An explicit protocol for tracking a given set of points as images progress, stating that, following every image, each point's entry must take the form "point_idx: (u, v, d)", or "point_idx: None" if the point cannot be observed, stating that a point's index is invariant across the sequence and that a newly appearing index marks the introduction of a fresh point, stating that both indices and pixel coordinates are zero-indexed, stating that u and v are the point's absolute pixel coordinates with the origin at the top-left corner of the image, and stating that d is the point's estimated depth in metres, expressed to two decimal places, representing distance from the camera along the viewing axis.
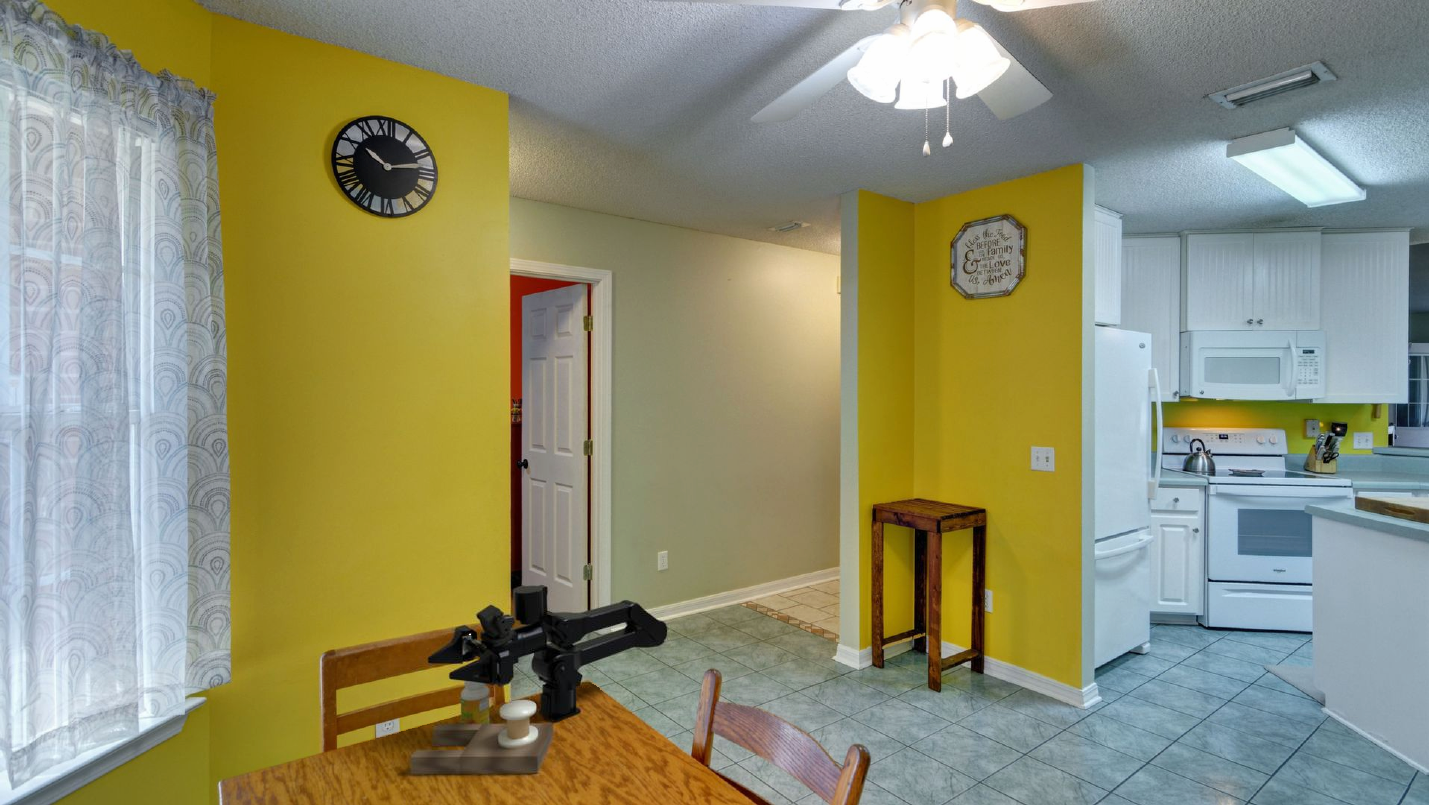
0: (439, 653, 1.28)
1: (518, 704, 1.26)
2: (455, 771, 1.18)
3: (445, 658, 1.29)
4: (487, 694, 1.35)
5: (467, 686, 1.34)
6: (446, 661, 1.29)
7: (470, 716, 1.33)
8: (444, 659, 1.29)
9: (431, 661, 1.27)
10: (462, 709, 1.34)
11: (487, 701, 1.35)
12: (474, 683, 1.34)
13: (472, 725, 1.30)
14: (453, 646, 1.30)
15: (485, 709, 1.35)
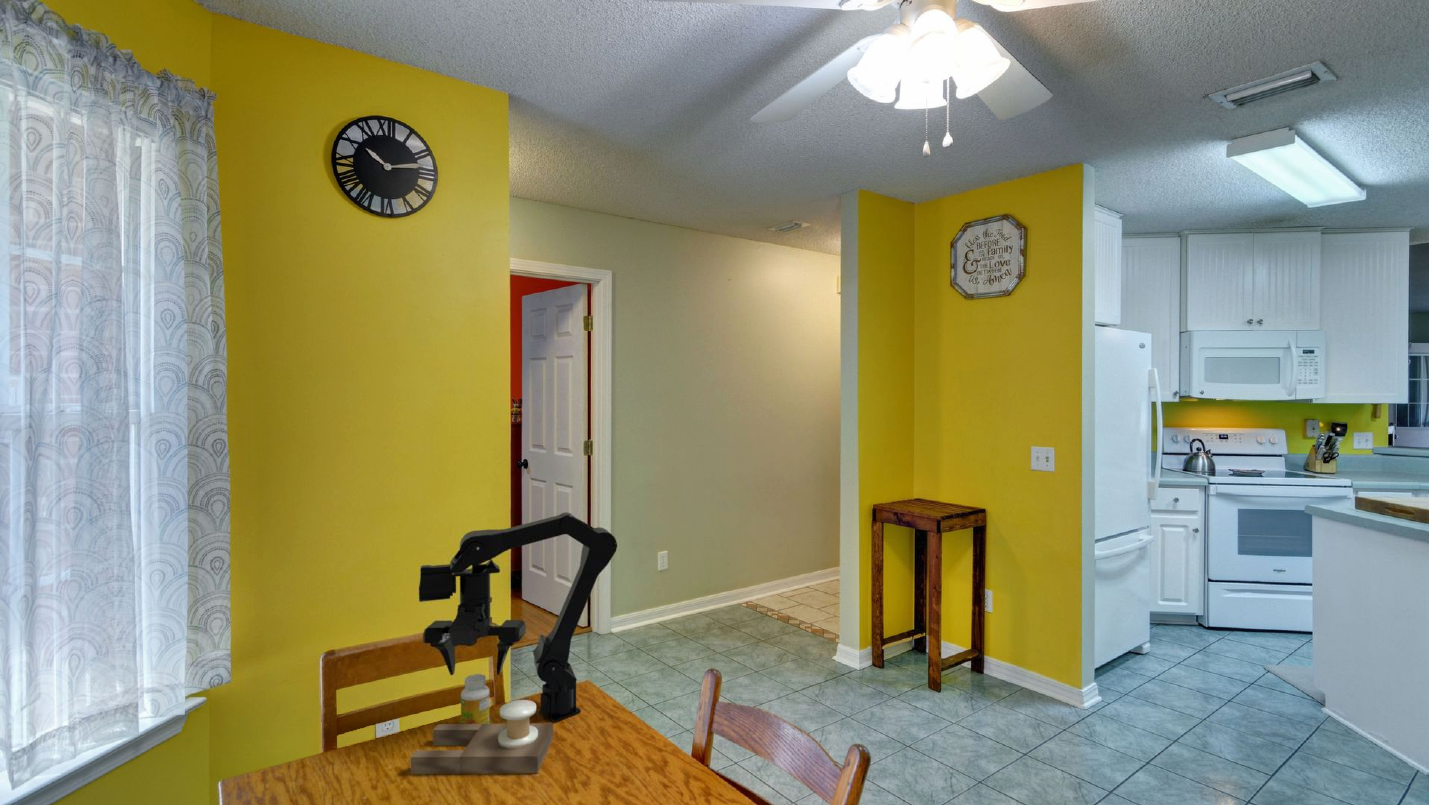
0: (451, 665, 1.35)
1: (518, 704, 1.26)
2: (455, 771, 1.18)
3: (453, 656, 1.36)
4: (487, 694, 1.35)
5: (467, 686, 1.34)
6: (454, 654, 1.37)
7: (470, 716, 1.33)
8: (453, 657, 1.36)
9: (454, 671, 1.36)
10: (462, 709, 1.34)
11: (487, 701, 1.35)
12: (474, 683, 1.34)
13: (472, 725, 1.30)
14: (448, 651, 1.34)
15: (485, 709, 1.35)
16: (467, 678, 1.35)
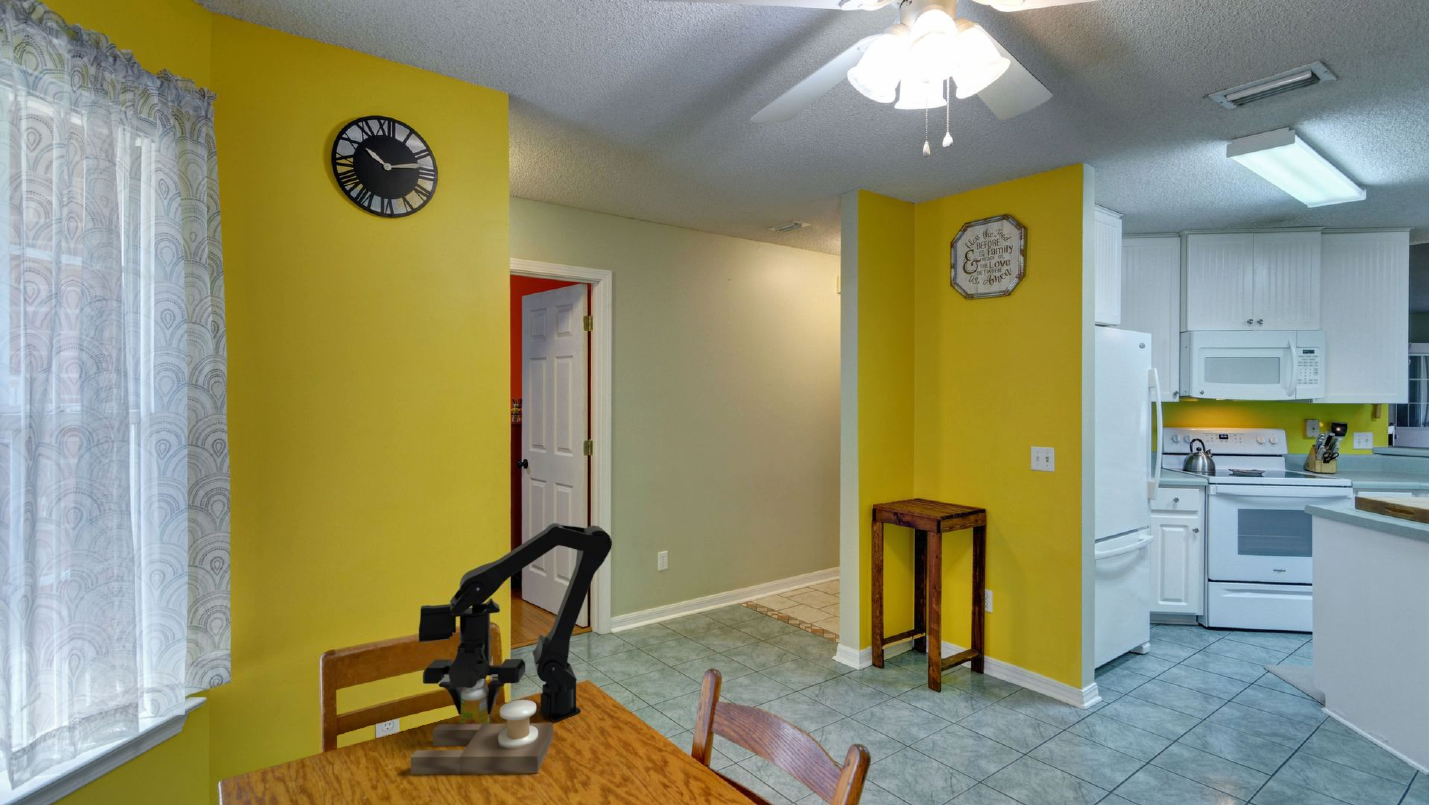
0: (459, 704, 1.35)
1: (518, 704, 1.26)
2: (455, 771, 1.18)
3: None
4: (487, 694, 1.35)
5: None
6: None
7: (470, 716, 1.33)
8: None
9: None
10: (462, 709, 1.34)
11: (487, 701, 1.35)
12: None
13: (472, 725, 1.30)
14: (457, 691, 1.35)
15: (485, 709, 1.35)
16: None
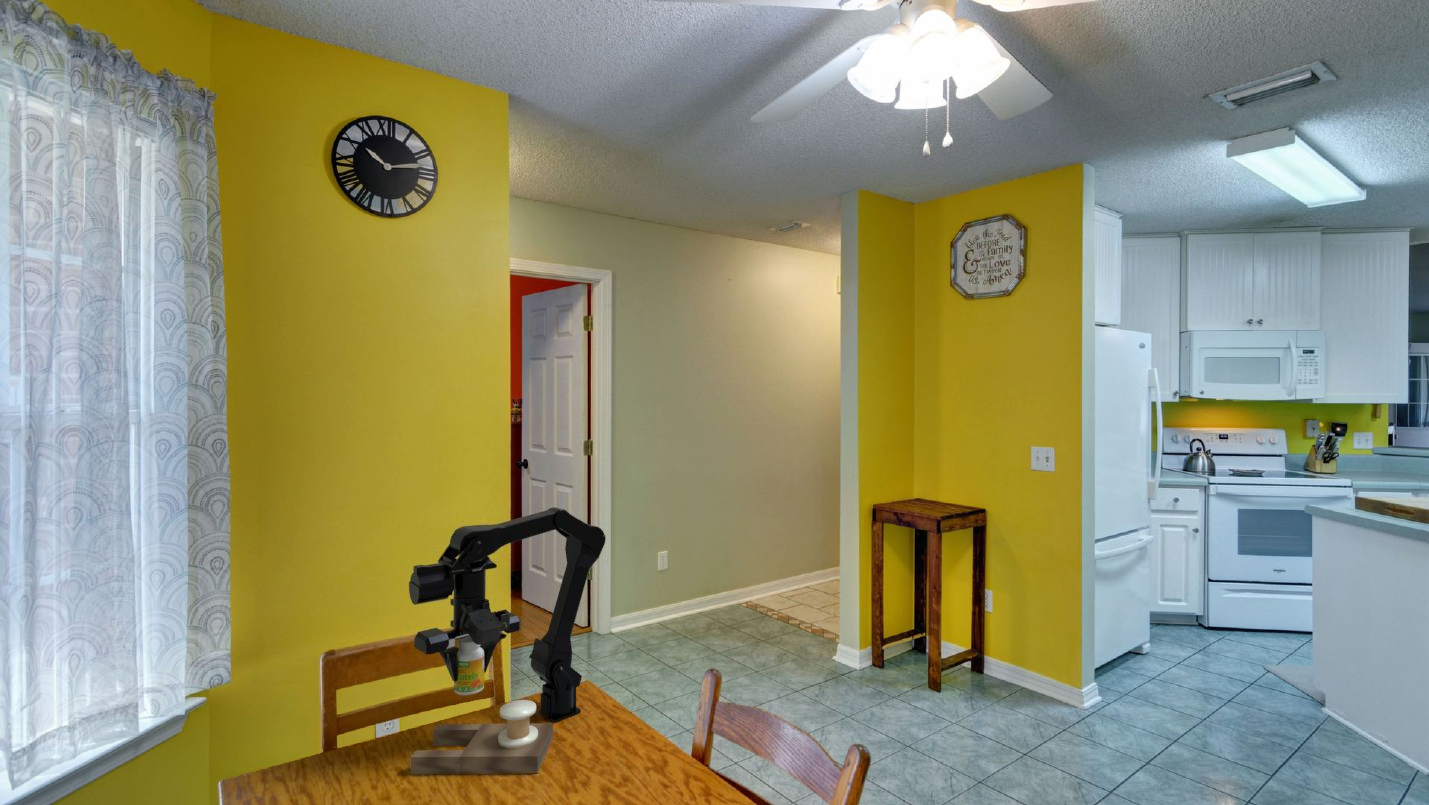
0: None
1: (518, 704, 1.26)
2: (455, 771, 1.18)
3: None
4: None
5: (469, 647, 1.27)
6: None
7: (475, 677, 1.27)
8: None
9: None
10: (464, 672, 1.26)
11: None
12: None
13: (472, 725, 1.30)
14: None
15: None
16: (462, 640, 1.28)
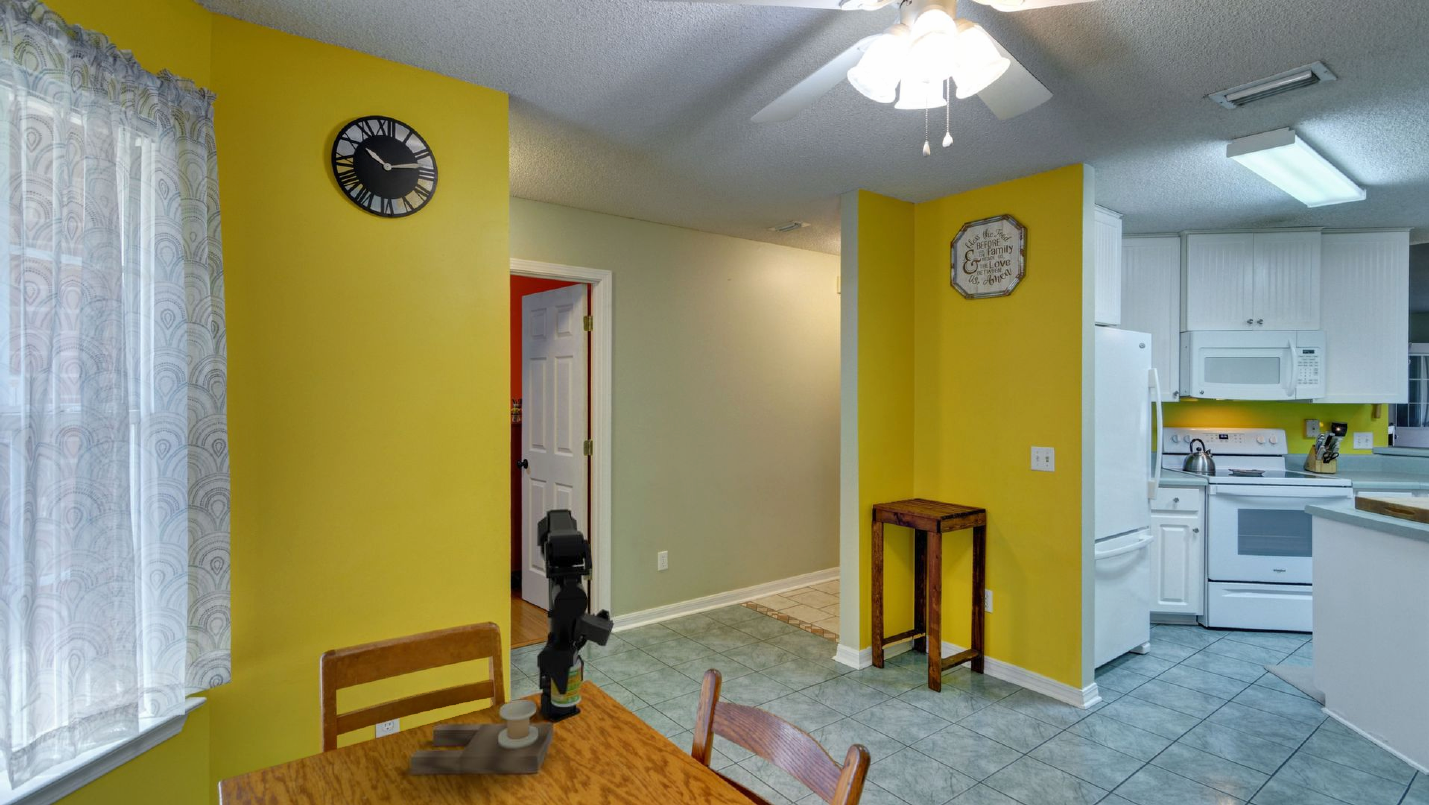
0: None
1: (518, 704, 1.26)
2: (455, 771, 1.18)
3: None
4: None
5: None
6: None
7: (580, 683, 1.25)
8: None
9: None
10: (574, 682, 1.23)
11: None
12: None
13: (472, 725, 1.30)
14: None
15: None
16: None
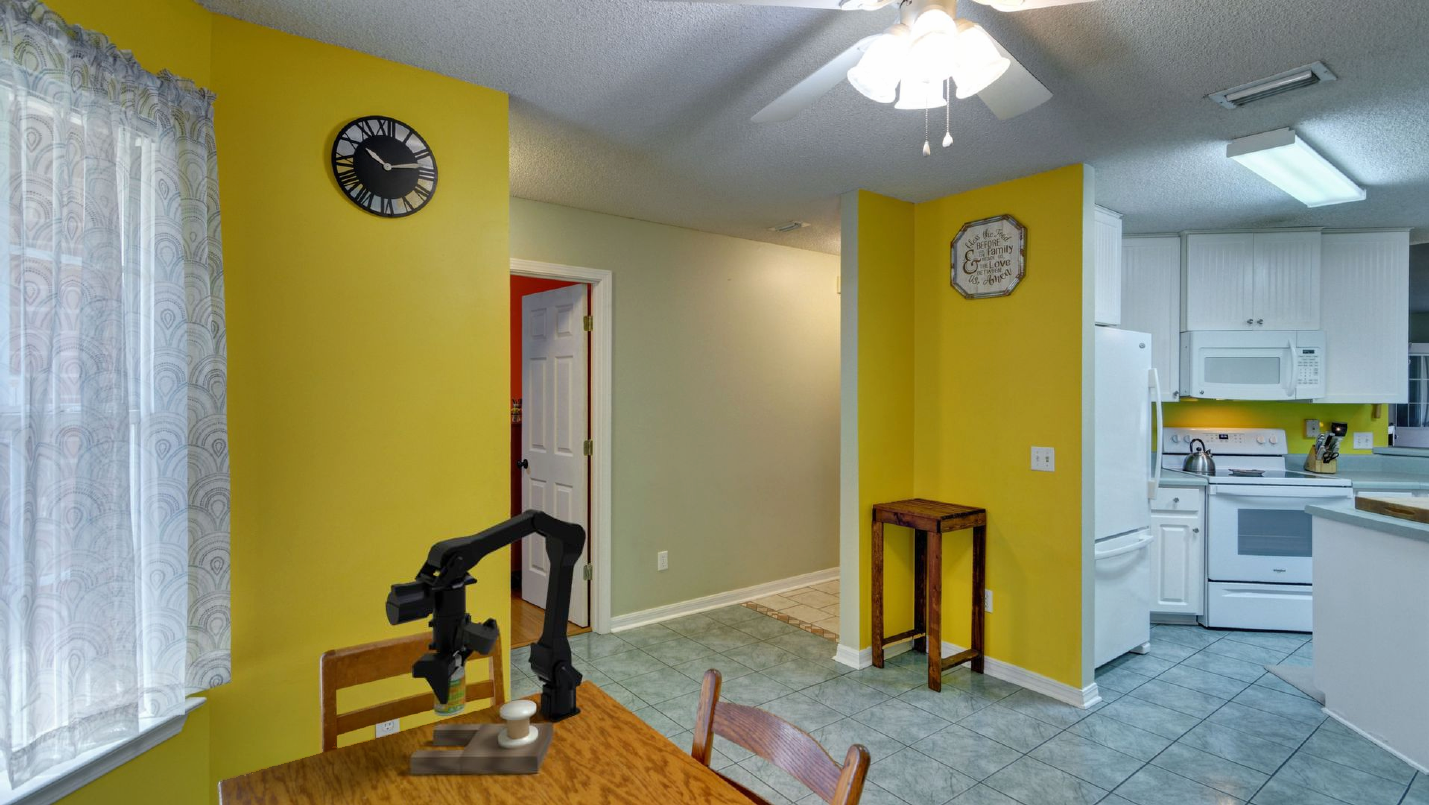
0: None
1: (518, 704, 1.26)
2: (455, 771, 1.18)
3: None
4: None
5: (457, 664, 1.23)
6: None
7: (464, 692, 1.24)
8: None
9: None
10: (456, 691, 1.23)
11: None
12: None
13: (472, 725, 1.30)
14: None
15: None
16: None
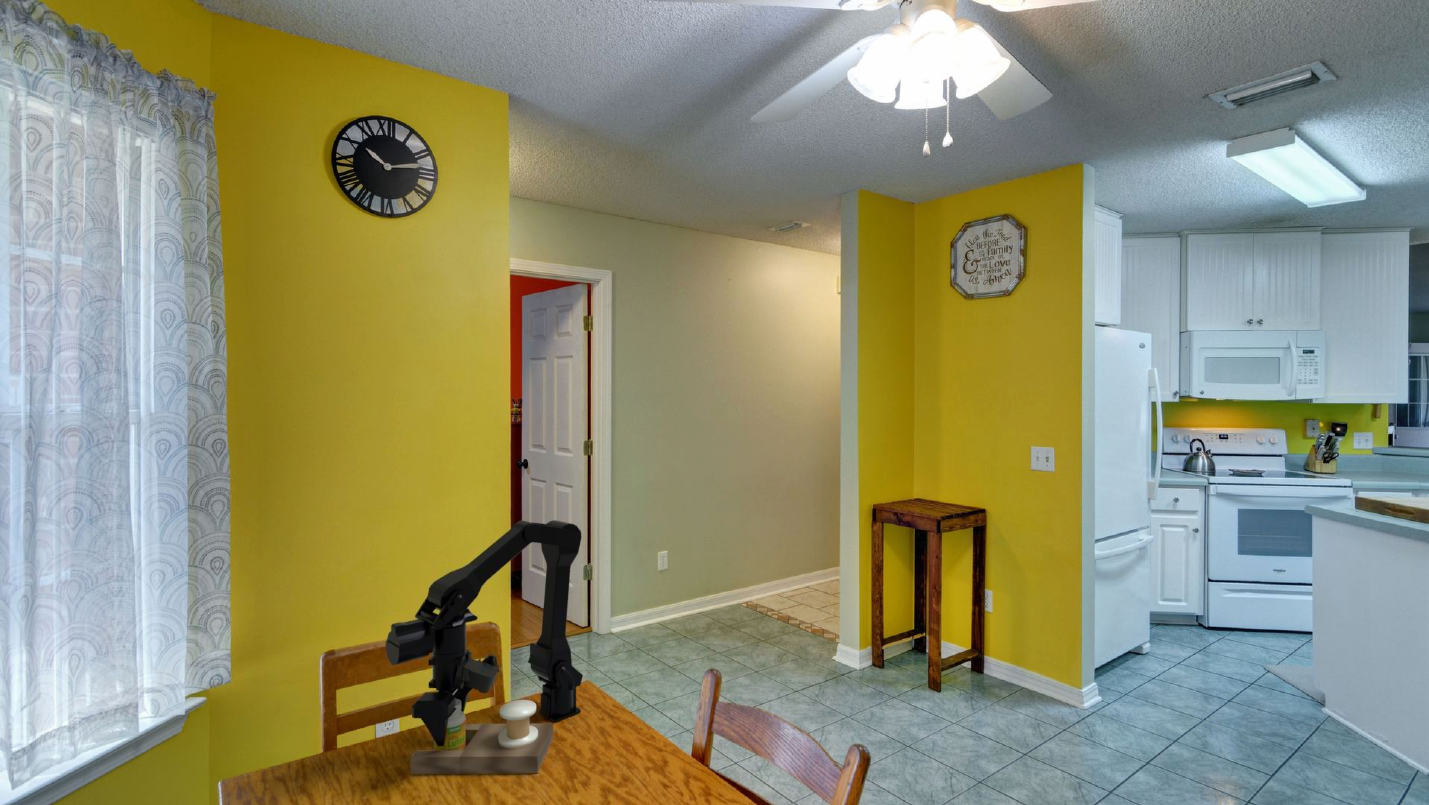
0: None
1: (518, 704, 1.26)
2: (455, 771, 1.18)
3: None
4: None
5: (457, 710, 1.23)
6: None
7: (464, 738, 1.24)
8: None
9: None
10: (456, 737, 1.23)
11: None
12: None
13: (472, 725, 1.30)
14: None
15: None
16: None
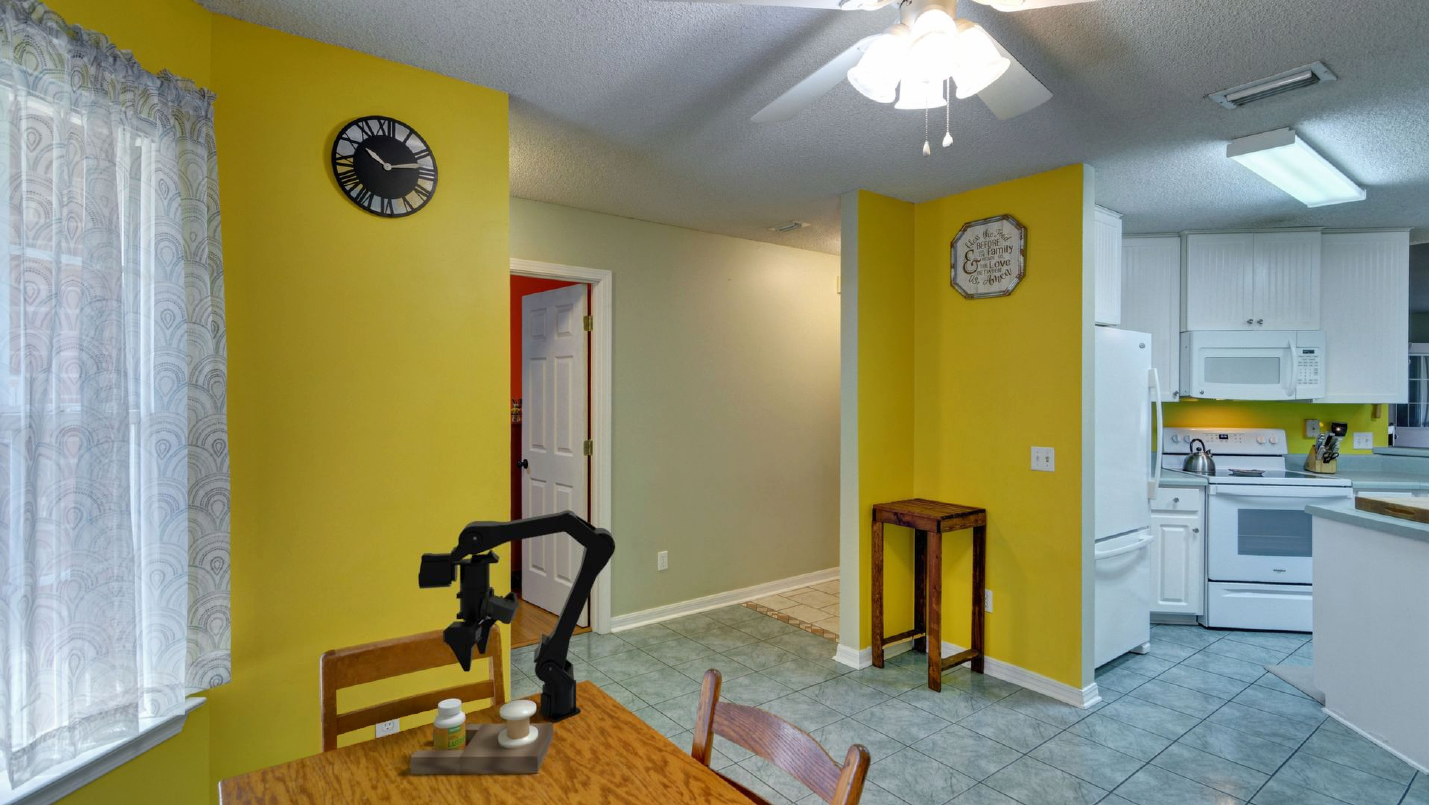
0: None
1: (518, 704, 1.26)
2: (455, 771, 1.18)
3: None
4: None
5: (457, 710, 1.23)
6: None
7: (464, 738, 1.24)
8: None
9: None
10: (456, 737, 1.23)
11: None
12: None
13: (472, 725, 1.30)
14: None
15: None
16: (447, 706, 1.23)
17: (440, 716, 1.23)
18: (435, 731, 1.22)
